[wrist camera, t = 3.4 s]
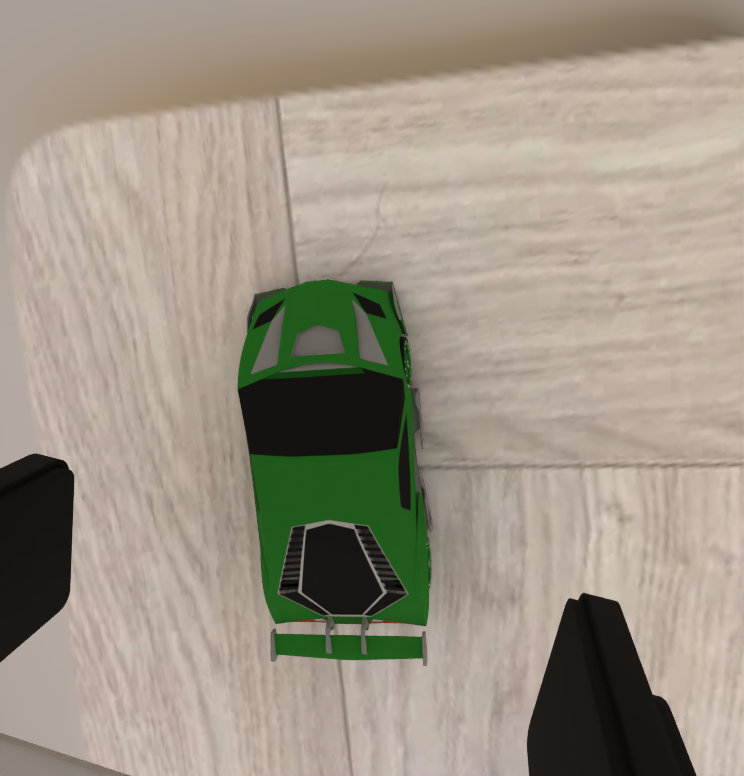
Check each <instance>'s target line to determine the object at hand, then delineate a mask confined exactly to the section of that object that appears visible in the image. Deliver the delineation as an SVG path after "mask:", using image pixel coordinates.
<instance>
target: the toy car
mask: <svg viewBox="0 0 744 776" xmlns="http://www.w3.org/2000/svg"><path fill="white" fill-rule="evenodd" d="M252 316H253V319H252ZM247 332H248V333H247V336H246V340H245V343H244V347H243V351H242V356H241V360H240V366H239V374H238V393H239V398H240V404H241V409H242V414H243V419H244V424H245V430H246V436H247V443H248V450H249V457H250V465H251V473H252V481H253V489H254V497H255V506H256V514H257V522H258V531H259V539H260V549H261V571H262V583H263V590H264V595H265V599H266V603H267V606H268V608H269V611H270V613H271V615H272V618H273V620H274V621H275V623H276V624H279V623H286V622H326V623H327V625H326V635H304V634H276V629H273V630H272V632H271V661H273V662H274V661H276V660H277V656H278V655H290V656H302V657H315V658H327V659H339V660H377V659H414V658H423V666H427V643H426V632H423V633H422V637H408V636H365V631H366V630H368V628H369V624H371V623H405V624H414V625H421V626H426V624H427V618H428V610H429V588H430V585H431V551H430V543H429V539H428V538H427V528H430V532H432V529H433V523H432V518H431V513H430V509H429V504H428V499H427V494H426V490H425V485H424V480H423V478H422V481H423V487H424V489H423V488H422V486H421V485H420V479H419V472H418V465H417V459H416V451H415V442H414V432H415V431H417V430H418V429H420V434H421V445H422V449H423V428H422V416H421V405H420V394H419V388H414V389H410V387H411V359H410V350H409V344H408V341H407V339H406V338H405V337H401V335H407V332H406V328H405V325H404V321H403V318H402V314H401V311H400V307H399V303H398V300H397V296H396V293H395V289H394V286H393V282H392V281H391V282H382V281H360V282H359V283H357V284H356V285H354V284H349V283H343V282H338V281H333V280H328V279H327V280H321V281H316V280H315V281H311V282H305V283H303V284H300V285H298V286H295V287H293V288H290V289H288V290H286V289H284V288H281V289H277V290H272V291H268V292H264V293H260V294H255V296H254V299H253V302H252V304H251V307H250V310H249V313H248V316H247ZM375 362H376V363H375ZM335 624H362V626H361V636H356V635H330V630H334V626H335Z"/></svg>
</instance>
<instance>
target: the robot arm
mask: <svg viewBox="0 0 744 776" xmlns="http://www.w3.org/2000/svg"><path fill="white" fill-rule="evenodd" d="M73 501H74V474H73V472H72V471H71V470H69V467H68V465H67V463H66V462H65V461H64V460H60V459H56V458H52V457H48V456H44V455H40V454H31V455H28V456H26V457H24V458H22V459H20V460H17V461H15V462H13V463H11V464H9V465H7V466H5V467H3V468H0V662H1V661H2V660H4V659H5V658H6V657H7V656H8V655H9V654H11V653H12V652H13V651H14V650H15V649H16V648H17V647H18V646H20V645H21V644H22V643H23V642H24V641H26V640H27V639H28V638H29V637H30V636H31V635H32V634H34V633H35V632H36V631H37V630H38V629H40V628H41V627H42V626H43V625H44V624H45V623H46V622H48V621H49V620H50V619H51V618H52V617H53V616H54V615H56V614H57V613H58V612H59V611H60V610H61V609H62V608H63V607H64V605H65V604H66V602H67V600H68V597H69V594H70V580H71V554H72V527H73ZM527 753H528V766H529V776H696V773H695V771H694V768H693V765H692V763H691V760H690V758H689V755H688V753H687V750H686V748H685V745H684V743H683V740H682V737H681V735H680V732H679V730H678V727H677V725H676V722H675V720H674V717H673V714H672V712H671V709H670V707H669V706H668V704H667V702H666V700H664V699H663V698H662V697H659V696H656V695H652V692H651V689H650V686H649V684H648V681H647V678H646V675H645V673H644V670H643V667H642V664H641V662H640V659H639V656H638V653H637V651H636V648H635V645H634V643H633V640H632V637H631V634H630V632H629V629H628V626H627V623H626V621H625V618H624V615H623V612H622V610H621V607H620V605H619V603H618V602H617V601H614V600H610V599H606V598H602V597H598V596H594V595H590V594H586V593H583V594H581V596H580V597H579V599H578V600H575V599H571V598H570V599H568V601H567V602H566V605H565V608H564V612H563V615H562V618H561V621H560V625H559V628H558V631H557V635H556V638H555V641H554V645H553V648H552V651H551V655H550V658H549V661H548V665H547V668H546V671H545V674H544V678H543V681H542V684H541V688H540V691H539V694H538V698H537V701H536V704H535V708H534V711H533V714H532V717H531V721H530V725H529V729H528V737H527ZM0 776H130V775H127V774H124V773H121V772H118V771H115V770H112V769H109V768H106V767H103V766H100V765H97V764H94V763H90V762H87V761H84V760H81V759H78V758H75V757H72V756H69V755H66V754H63V753H60V752H57V751H54V750H51V749H48V748H45V747H42V746H39V745H36V744H33V743H30V742H27V741H24V740H20V739H18V738H15V737H12V736H8V735H5V734H2V733H0Z"/></svg>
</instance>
